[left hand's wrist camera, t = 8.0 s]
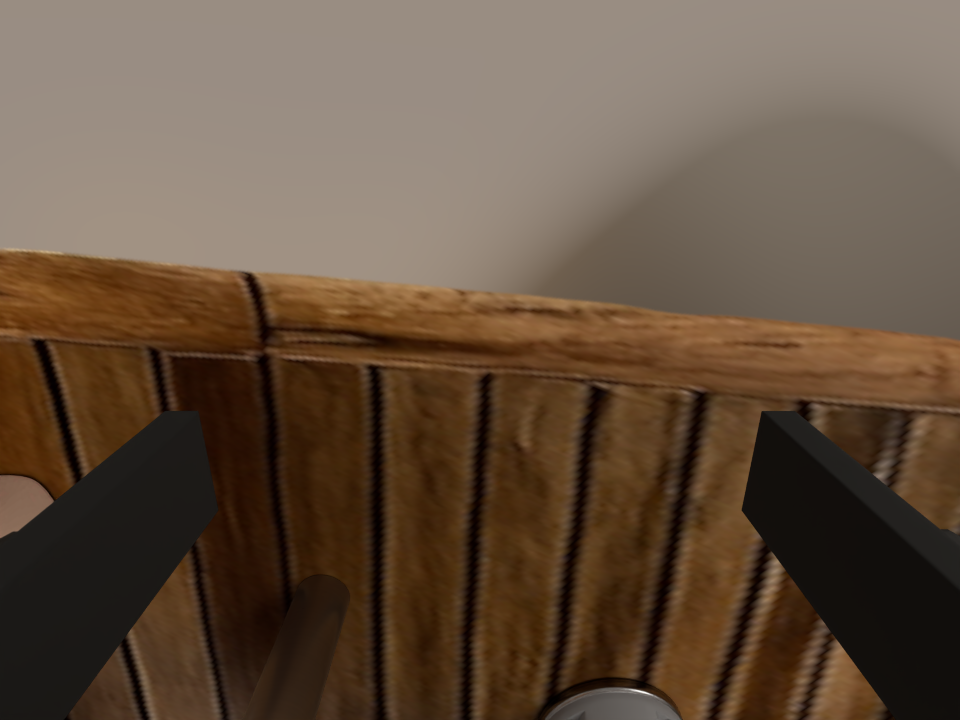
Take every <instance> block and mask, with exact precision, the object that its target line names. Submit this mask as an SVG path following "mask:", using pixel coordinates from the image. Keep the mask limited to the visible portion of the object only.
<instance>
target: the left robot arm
mask: <svg viewBox="0 0 960 720" xmlns="http://www.w3.org/2000/svg"><path fill="white" fill-rule="evenodd" d="M217 511H218V506H217V501H216V496H215V491H214V486H213V481H212V477H211V472H210V467H209V462H208V457H207V452H206V447H205V442H204V437H203V432H202V427H201V423H200V418H199V413H198V411H165V412H164V413H162V414H161V415H160V416H159V417H157V418H156V419H155V420H154V421H153V422H151V423H150V424H149V425H148V426H146V427H145V428H144V429H143V430H141V431H140V432H139V433H138V434H137V435H135V436H134V437H133V438H132V439H130V440H129V441H128V442H127V443H125V444H124V445H123V446H122V447H121V448H119V449H118V450H117V451H116V452H114V453H113V454H112V455H111V456H109V457H108V458H107V459H106V460H105V461H103V462H102V463H101V464H100V465H98V466H97V467H96V468H95V469H94V470H92V471H91V472H90V473H89V474H87V475H86V476H85V477H84V478H82V479H81V480H80V481H79V482H78V483H76V484H75V485H74V486H73V487H71V488H70V489H69V490H68V491H66V492H65V493H64V494H63V495H62V496H60V497H59V498H58V499H57V500H55V501H54V502H53V503H52V504H50V505H49V506H48V507H47V508H46V509H44V510H43V511H42V512H41V513H39V514H38V515H37V516H36V517H34V518H33V519H32V520H31V521H30V522H28V523H27V524H26V525H25V526H23V527H22V528H21V529H20V530H19V531H13V532H11V533H9V534H7V535H5V536H4V537H2V538H0V720H64V719H65V718H66V716H67V715H68V714H69V712H70V711H71V710H72V708H73V707H74V706H75V704H76V703H77V701H78V700H79V699H80V697H81V696H82V695H83V693H84V692H85V691H86V689H87V688H88V687H89V685H90V684H91V682H92V681H93V680H94V678H95V677H96V676H97V674H98V673H99V672H100V670H101V669H102V668H103V666H104V665H105V663H106V662H107V661H108V659H109V658H110V657H111V655H112V654H113V653H114V651H115V650H116V649H117V647H118V646H119V644H120V643H121V642H122V640H123V639H124V638H125V636H126V635H127V634H128V632H129V631H130V630H131V628H132V627H133V625H134V624H135V623H136V621H137V620H138V619H139V617H140V616H141V615H142V613H143V612H144V611H145V609H146V608H147V606H148V605H149V604H150V602H151V601H152V600H153V598H154V597H155V596H156V594H157V593H158V592H159V590H160V589H161V587H162V586H163V585H164V583H165V582H166V581H167V579H168V578H169V577H170V575H171V574H172V573H173V571H174V570H175V568H176V567H177V566H178V564H179V563H180V562H181V560H182V559H183V558H184V556H185V555H186V554H187V552H188V551H189V549H190V548H191V547H192V545H193V544H194V543H195V541H196V540H197V539H198V537H199V536H200V535H201V533H202V532H203V530H204V529H205V528H206V526H207V525H208V524H209V522H210V521H211V520H212V518H213V517H214V516H215V514H216V513H217ZM742 511H743V513H744V514H745V516H746V517H747V518H748V520H749V521H750V522H751V524H752V525H753V526H754V528H755V529H756V530H757V532H758V533H759V535H760V536H761V537H762V539H763V540H764V541H765V543H766V544H767V545H768V547H769V548H770V549H771V551H772V552H773V554H774V555H775V556H776V558H777V559H778V560H779V562H780V563H781V564H782V566H783V567H784V568H785V570H786V571H787V573H788V574H789V575H790V577H791V578H792V579H793V581H794V582H795V583H796V585H797V586H798V587H799V589H800V590H801V592H802V593H803V594H804V596H805V597H806V598H807V600H808V601H809V602H810V604H811V605H812V606H813V608H814V609H815V611H816V612H817V613H818V615H819V616H820V617H821V619H822V620H823V621H824V623H825V624H826V625H827V627H828V628H829V630H830V631H831V632H832V634H833V635H834V636H835V638H836V639H837V640H838V642H839V643H840V644H841V646H842V647H843V649H844V650H845V651H846V653H847V654H848V655H849V657H850V658H851V659H852V661H853V662H854V663H855V665H856V666H857V668H858V669H859V670H860V672H861V673H862V674H863V676H864V677H865V678H866V680H867V681H868V682H869V684H870V685H871V687H872V688H873V689H874V691H875V692H876V693H877V695H878V696H879V697H880V699H881V700H882V701H883V703H884V704H885V706H886V707H887V708H888V710H889V711H890V712H891V714H892V715H893V716H894V718H895V719H896V720H960V536H959V535H957V534H955V533H953V532H951V531H950V530H948V529H939V528H938V527H937V526H935V525H934V524H933V523H932V522H930V521H929V520H928V519H927V518H926V517H924V516H923V515H922V514H921V513H919V512H918V511H917V510H916V509H914V508H913V507H912V506H911V505H910V504H908V503H907V502H906V501H905V500H903V499H902V498H901V497H900V496H898V495H897V494H896V493H895V492H894V491H892V490H891V489H890V488H889V487H887V486H886V485H885V484H884V483H882V482H881V481H880V480H879V479H878V478H876V477H875V476H874V475H873V474H871V473H870V472H869V471H868V470H866V469H865V468H864V467H863V466H862V465H860V464H859V463H858V462H857V461H855V460H854V459H853V458H852V457H851V456H849V455H848V454H847V453H846V452H844V451H843V450H842V449H841V448H839V447H838V446H837V445H836V444H835V443H833V442H832V441H831V440H830V439H828V438H827V437H826V436H825V435H823V434H822V433H821V432H820V431H819V430H817V429H816V428H815V427H814V426H812V425H811V424H810V423H809V422H807V421H806V420H805V419H804V418H803V417H801V416H800V415H799V414H798V413H796V412H795V411H762V413H761V418H760V423H759V427H758V432H757V437H756V442H755V447H754V452H753V457H752V462H751V467H750V472H749V477H748V481H747V486H746V491H745V496H744V501H743V506H742ZM538 720H683V719H682V716H681V714H680V711H679V709H678V707H677V706H676V704H675V703H674V702H673V701H672V700H671V699H670V698H669V697H668V696H667V695H666V694H664V693H663V692H662V691H660V690H658V689H657V688H654V687H652V686H650V685H647V684H644V683H641V682H637V681H632V680H624V679H606V680H598V681H592V682H588V683H584V684H581V685H578V686H576V687H574V688H571V689H569V690H567V691H565V692H564V693H562V694H560V695H559V696H558V697H556V698H555V699H554V700H553V701H551V702H550V703H549V704H548V705H547V707H546V708H545V709H544V710H543V712H542V713H541V715H540V717H539V719H538Z"/></svg>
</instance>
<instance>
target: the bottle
mask: <svg viewBox="0 0 960 720" xmlns="http://www.w3.org/2000/svg"><path fill="white" fill-rule="evenodd" d="M349 601H350V595H349V591H348V589H347V587H346V586H345V585H344V584H343V583H342V582H341V581H339V580H338V579H336V578H334V577H331V576H327V575H315V576H311V577H308V578H307V579H305V580H304V581H302V582H301V583H300V585H299V587H298V589H297V591H296V593H295V596H294V598H293V601H292V603H291V605H290V608H289V610H288V612H287V615H286V617H285V620H284V622H283V624H282V627H281V629H280V631H279V634H278V636H277V639H276V641H275V643H274V646H273V648H272V651H271V653H270V655H269V658H268V660H267V662H266V665H265V667H264V670H263V672H262V674H261V677H260V679H259V681H258V684H257V686H256V689H255V691H254V693H253V696H252V698H251V700H250V703H249V705H248V708H247V710H246V712H245V715H244V717H243V719H242V720H315V717H316V714H317V711H318V707H319V704H320V700H321V697H322V693H323V690H324V687H325V683H326V680H327V676H328V673H329V670H330V666H331V663H332V659H333V656H334V652H335V649H336V646H337V642H338V639H339V635H340V632H341V629H342V625H343V622H344V618H345V615H346V611H347V608H348V605H349Z"/></svg>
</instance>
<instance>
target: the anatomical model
mask: <svg viewBox="0 0 960 720" xmlns="http://www.w3.org/2000/svg"><path fill="white" fill-rule="evenodd" d="M53 502H54V500H53V499H52V497H51V496H50V495H49V493H48V492H47V491H46V489H44V488H43V487H42V486H41V485H40V484H39V483H38V482H36V481H35V480H33V479H30V478H27V477H23V476H14V475H0V538H2V537H4V536H5V535H7V534H9V533H11V532H13V531H19V530H20V529H21V528H22V527H23V526H25V525H26V524H27V523H28V522H30V521H31V520H32V519H33V518H34V517H36V516H37V515H38V514H39V513H41V512H42V511H43V510H44V509H46V508H47V507H48V506H49V505H50V504H52V503H53Z"/></svg>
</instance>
